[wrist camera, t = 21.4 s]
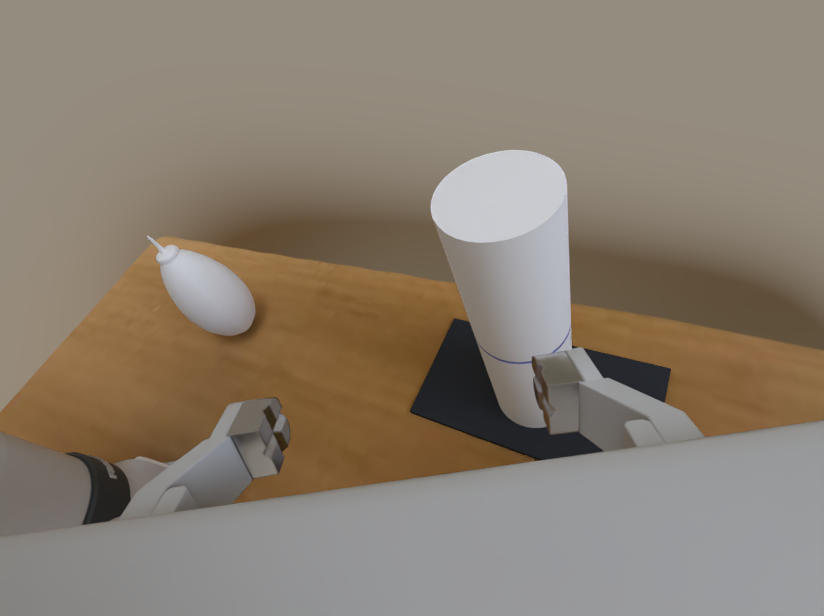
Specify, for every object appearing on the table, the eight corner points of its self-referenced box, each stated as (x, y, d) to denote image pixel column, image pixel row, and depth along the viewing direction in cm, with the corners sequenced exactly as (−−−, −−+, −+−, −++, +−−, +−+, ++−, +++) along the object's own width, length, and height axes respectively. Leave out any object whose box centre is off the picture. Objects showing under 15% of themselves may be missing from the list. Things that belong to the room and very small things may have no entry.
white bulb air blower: (258, 349, 57) (156, 259, 44) (211, 350, 60) (101, 266, 46) (276, 301, 62) (190, 206, 48) (232, 304, 64) (138, 215, 50)
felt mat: (411, 412, 45) (409, 411, 45) (455, 320, 50) (454, 318, 50) (644, 499, 35) (645, 497, 34) (670, 371, 40) (671, 368, 39)
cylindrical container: (485, 410, 42) (407, 230, 23) (513, 351, 45) (464, 146, 26) (557, 440, 39) (535, 254, 20) (583, 373, 42) (586, 154, 23)
